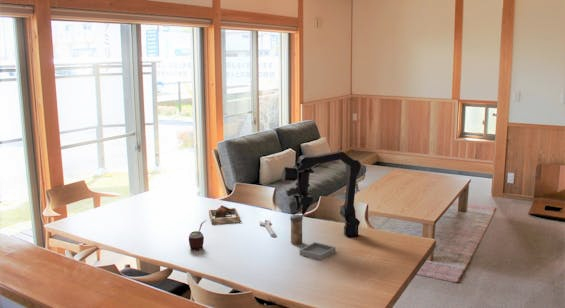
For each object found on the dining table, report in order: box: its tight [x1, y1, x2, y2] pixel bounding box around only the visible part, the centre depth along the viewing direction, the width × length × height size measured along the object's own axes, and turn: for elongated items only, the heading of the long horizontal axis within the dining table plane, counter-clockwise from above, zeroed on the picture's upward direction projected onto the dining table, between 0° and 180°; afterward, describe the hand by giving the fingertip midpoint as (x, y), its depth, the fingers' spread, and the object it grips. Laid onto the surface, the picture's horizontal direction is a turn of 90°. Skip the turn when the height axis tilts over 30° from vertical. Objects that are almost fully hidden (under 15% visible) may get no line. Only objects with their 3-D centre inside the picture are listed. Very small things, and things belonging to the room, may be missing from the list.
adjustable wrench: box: [259, 219, 277, 238], centre depth 281 cm, size 25×6×2 cm, turn 9°
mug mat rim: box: [208, 207, 241, 225], centre depth 301 cm, size 16×18×3 cm
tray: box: [299, 241, 336, 261], centre depth 247 cm, size 13×12×2 cm
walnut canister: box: [289, 214, 304, 246], centre depth 260 cm, size 6×6×14 cm
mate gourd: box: [188, 219, 207, 252], centre depth 253 cm, size 8×8×15 cm
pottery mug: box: [214, 205, 233, 218], centre depth 301 cm, size 12×10×8 cm
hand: (300, 212), depth 262 cm, fingers open, 9 cm apart
